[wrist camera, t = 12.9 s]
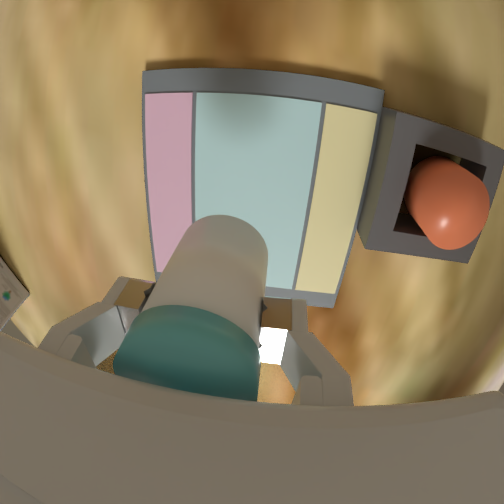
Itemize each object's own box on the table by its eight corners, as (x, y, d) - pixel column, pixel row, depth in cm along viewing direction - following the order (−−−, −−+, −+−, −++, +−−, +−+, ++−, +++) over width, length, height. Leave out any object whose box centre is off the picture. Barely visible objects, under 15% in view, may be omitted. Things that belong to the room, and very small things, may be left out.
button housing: (481, 139, 14) (506, 151, 12) (450, 240, 19) (467, 263, 16) (379, 105, 15) (396, 111, 12) (355, 224, 19) (364, 248, 16)
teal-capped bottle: (275, 217, 12) (263, 359, 6) (266, 295, 14) (252, 430, 9) (175, 208, 12) (94, 329, 7) (182, 285, 15) (132, 407, 9)
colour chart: (382, 89, 14) (385, 90, 14) (332, 303, 23) (333, 308, 22) (146, 71, 15) (141, 71, 14) (158, 281, 24) (156, 286, 23)
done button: (472, 165, 14) (498, 183, 11) (452, 229, 16) (472, 254, 14) (413, 147, 14) (437, 163, 11) (395, 218, 16) (412, 244, 14)
